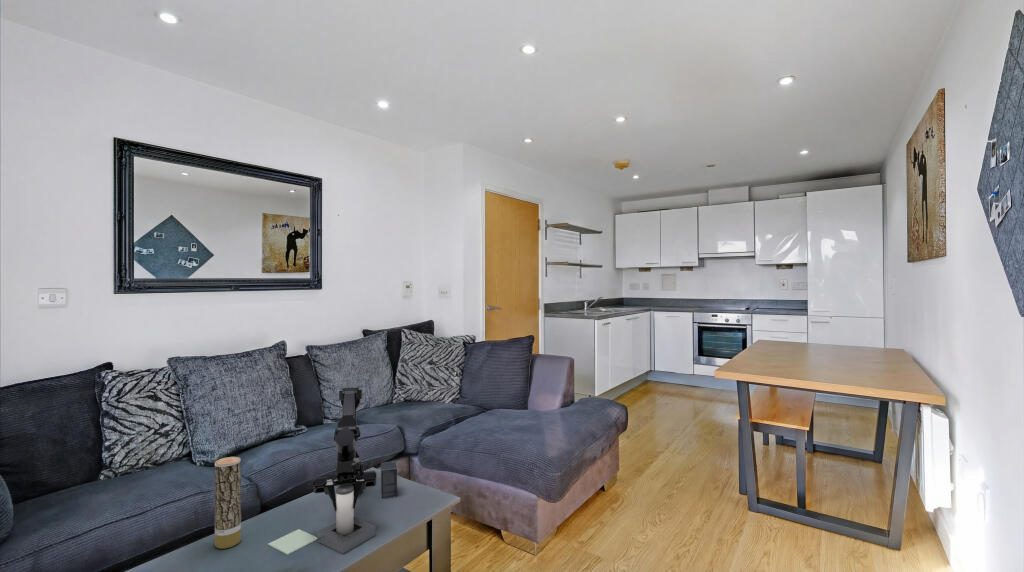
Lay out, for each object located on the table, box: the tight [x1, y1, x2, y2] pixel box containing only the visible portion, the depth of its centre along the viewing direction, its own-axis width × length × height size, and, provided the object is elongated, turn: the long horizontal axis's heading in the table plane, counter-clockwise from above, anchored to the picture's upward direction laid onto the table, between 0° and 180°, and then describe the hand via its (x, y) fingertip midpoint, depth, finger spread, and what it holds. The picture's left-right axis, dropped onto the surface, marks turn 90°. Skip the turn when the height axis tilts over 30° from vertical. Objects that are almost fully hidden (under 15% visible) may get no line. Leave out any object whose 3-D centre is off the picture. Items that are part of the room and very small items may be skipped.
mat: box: [267, 528, 317, 556], centre depth 142 cm, size 10×10×1 cm
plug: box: [335, 484, 355, 537], centre depth 144 cm, size 5×5×13 cm
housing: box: [316, 517, 377, 555], centre depth 144 cm, size 12×12×3 cm
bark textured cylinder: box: [214, 456, 242, 550], centre depth 142 cm, size 7×7×25 cm
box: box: [380, 460, 398, 499], centre depth 176 cm, size 8×6×11 cm
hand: (344, 509), depth 143 cm, fingers closed on plug, 5 cm apart
